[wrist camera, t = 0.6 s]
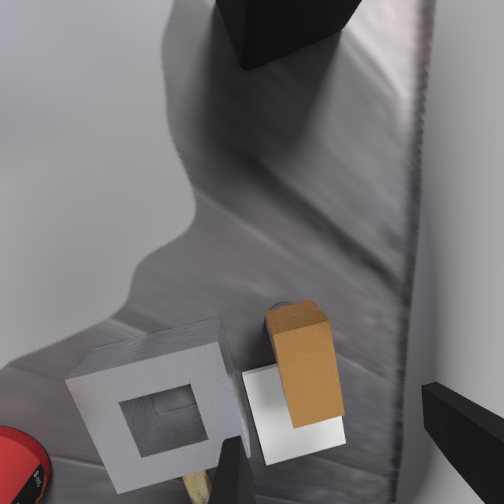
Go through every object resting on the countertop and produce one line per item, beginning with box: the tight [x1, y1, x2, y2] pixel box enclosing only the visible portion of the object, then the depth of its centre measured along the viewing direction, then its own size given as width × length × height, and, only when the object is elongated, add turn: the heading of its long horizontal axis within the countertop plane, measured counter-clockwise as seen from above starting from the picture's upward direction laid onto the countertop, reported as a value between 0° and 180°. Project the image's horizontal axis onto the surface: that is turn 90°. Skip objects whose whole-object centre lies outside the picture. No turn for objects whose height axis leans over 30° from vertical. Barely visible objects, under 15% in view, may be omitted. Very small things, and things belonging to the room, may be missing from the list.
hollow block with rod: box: [65, 316, 251, 504], centre depth 17 cm, size 14×9×3 cm, turn 13°
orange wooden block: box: [265, 300, 345, 429], centre depth 15 cm, size 6×3×6 cm, turn 13°
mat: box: [242, 363, 346, 465], centre depth 19 cm, size 9×7×1 cm
